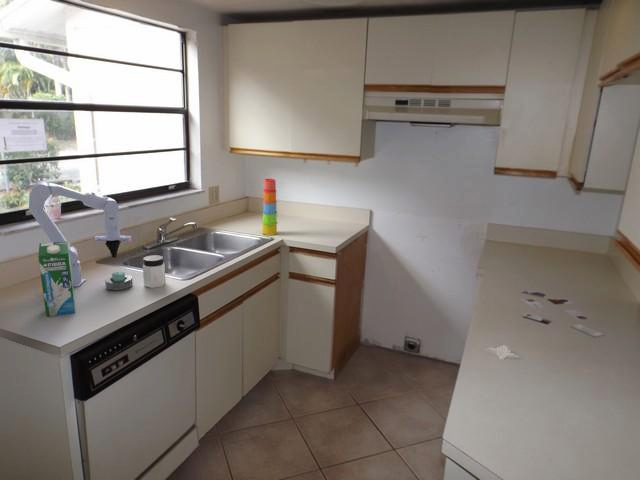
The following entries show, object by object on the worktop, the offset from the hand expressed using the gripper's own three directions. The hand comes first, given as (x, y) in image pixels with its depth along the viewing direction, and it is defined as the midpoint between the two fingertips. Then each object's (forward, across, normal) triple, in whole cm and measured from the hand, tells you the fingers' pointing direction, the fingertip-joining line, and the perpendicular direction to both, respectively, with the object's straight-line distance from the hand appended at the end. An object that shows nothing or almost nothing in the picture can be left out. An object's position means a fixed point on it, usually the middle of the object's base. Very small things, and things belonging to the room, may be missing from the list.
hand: (114, 256), depth 194 cm
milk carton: (+10, -10, -33) cm, 36 cm away
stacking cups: (+10, +70, +79) cm, 106 cm away
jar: (+10, +18, -8) cm, 22 cm away
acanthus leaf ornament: (+11, +141, -75) cm, 160 cm away
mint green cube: (+9, +4, -10) cm, 14 cm away
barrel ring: (+10, +4, -10) cm, 15 cm away
